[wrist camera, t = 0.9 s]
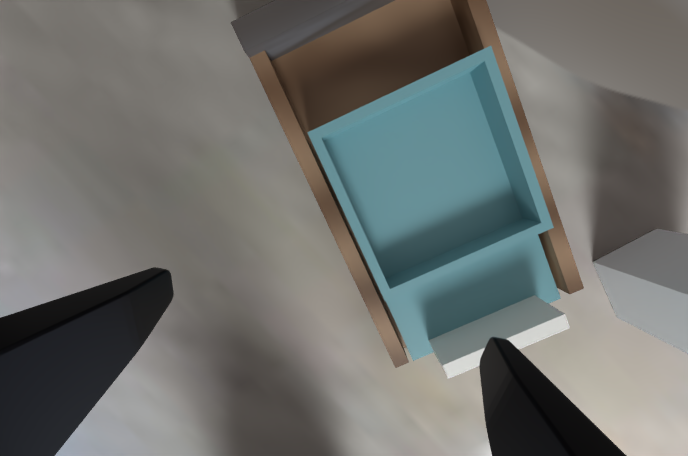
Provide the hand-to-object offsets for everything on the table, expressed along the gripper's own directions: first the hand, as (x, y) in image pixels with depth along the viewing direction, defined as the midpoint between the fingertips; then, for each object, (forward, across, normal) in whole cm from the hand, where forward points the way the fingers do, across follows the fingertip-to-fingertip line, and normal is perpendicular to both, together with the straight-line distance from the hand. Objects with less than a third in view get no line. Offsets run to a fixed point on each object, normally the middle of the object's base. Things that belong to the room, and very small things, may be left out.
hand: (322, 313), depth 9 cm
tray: (+14, -5, +2) cm, 15 cm away
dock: (+15, -3, -1) cm, 16 cm away
